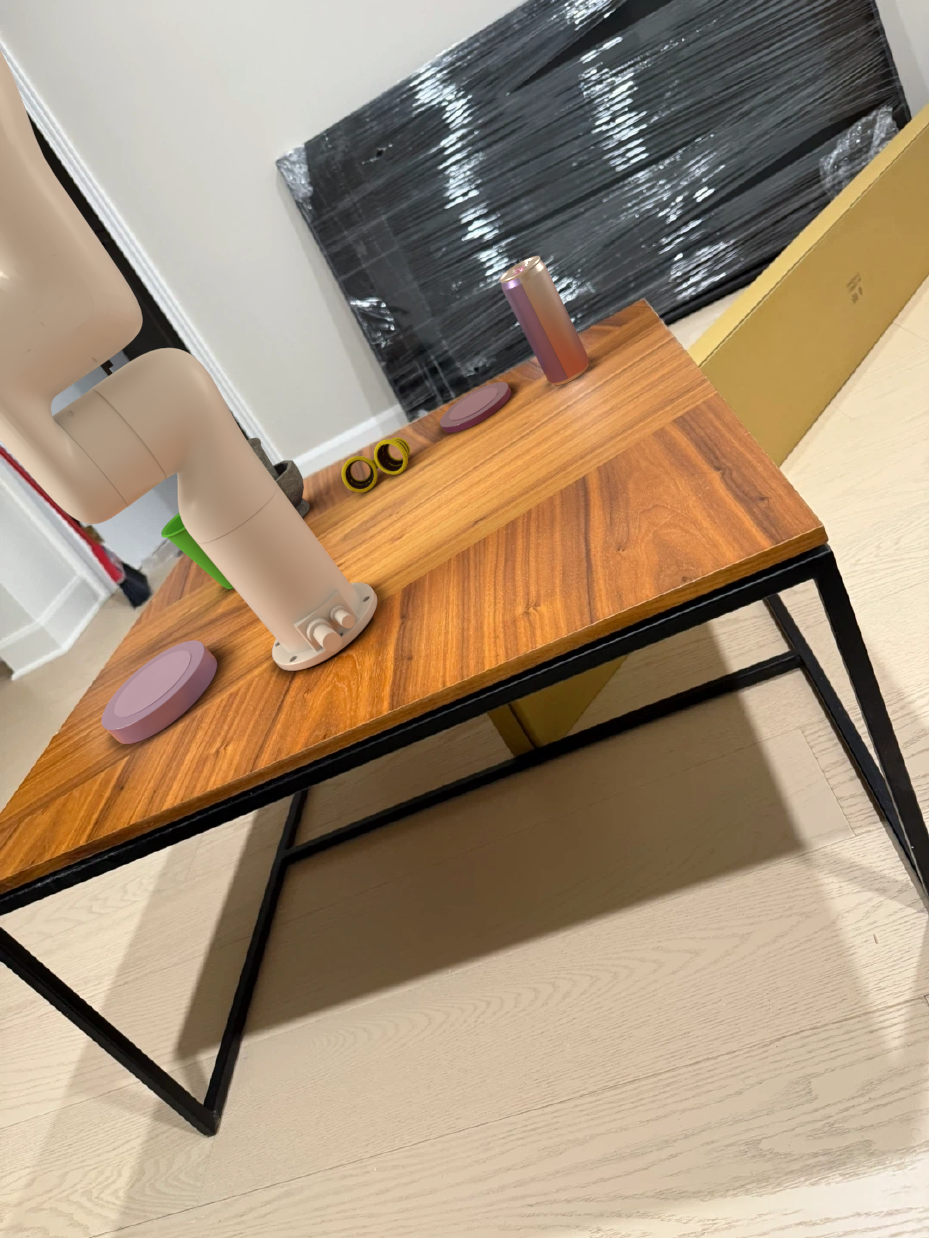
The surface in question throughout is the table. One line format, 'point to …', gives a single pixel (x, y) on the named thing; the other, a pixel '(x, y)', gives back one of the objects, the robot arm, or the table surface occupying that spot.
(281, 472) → the mortar and pestle
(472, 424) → the plum dish
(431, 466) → the table surface
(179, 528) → the cup
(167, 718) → the lavender dish
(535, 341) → the beverage can
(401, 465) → the opera glasses
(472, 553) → the table surface
